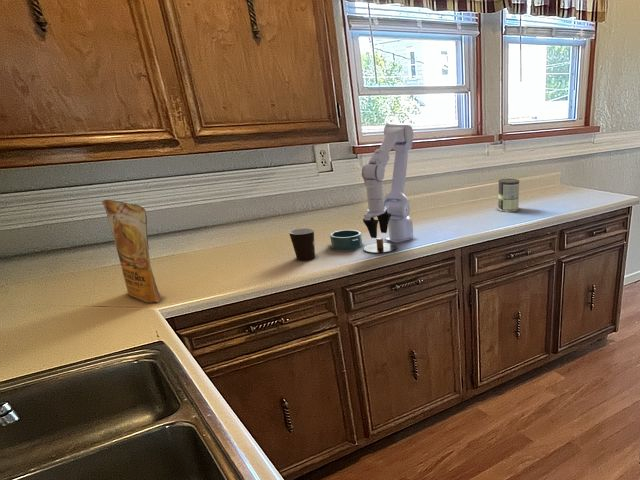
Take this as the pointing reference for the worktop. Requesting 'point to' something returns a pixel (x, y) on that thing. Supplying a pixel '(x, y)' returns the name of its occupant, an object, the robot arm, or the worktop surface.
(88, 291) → the worktop surface
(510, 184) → the coffee can
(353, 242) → the pot
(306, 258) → the coffee mug
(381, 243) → the lid
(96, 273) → the worktop surface
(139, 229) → the pancake mix bag
